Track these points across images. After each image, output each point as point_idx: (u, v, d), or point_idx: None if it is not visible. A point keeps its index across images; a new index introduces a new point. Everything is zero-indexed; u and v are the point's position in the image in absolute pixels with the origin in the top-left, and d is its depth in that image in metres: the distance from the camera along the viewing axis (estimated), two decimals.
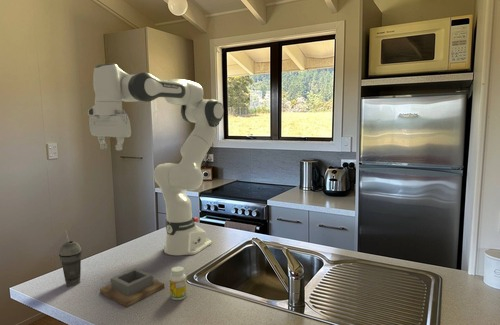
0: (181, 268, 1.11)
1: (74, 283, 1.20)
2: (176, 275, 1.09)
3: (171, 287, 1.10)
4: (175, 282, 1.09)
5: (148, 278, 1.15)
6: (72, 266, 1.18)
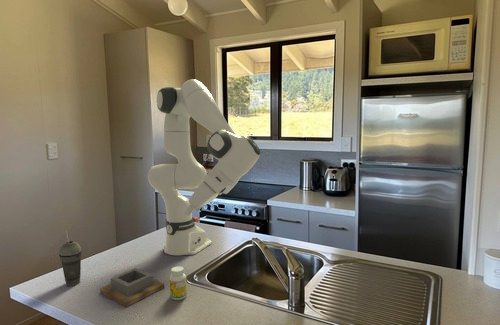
0: (181, 268, 1.11)
1: (74, 283, 1.20)
2: (176, 275, 1.09)
3: (171, 287, 1.10)
4: (175, 282, 1.09)
5: (148, 278, 1.15)
6: (72, 266, 1.18)
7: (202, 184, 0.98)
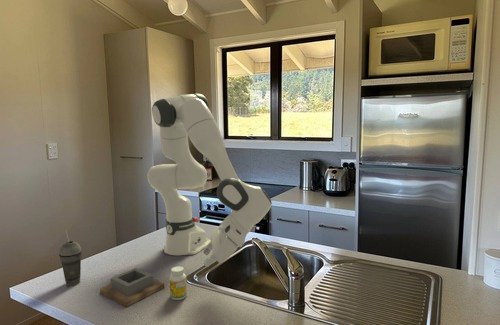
0: (181, 268, 1.11)
1: (74, 283, 1.20)
2: (176, 275, 1.09)
3: (171, 287, 1.10)
4: (175, 282, 1.09)
5: (148, 278, 1.15)
6: (72, 266, 1.18)
7: (226, 240, 1.03)
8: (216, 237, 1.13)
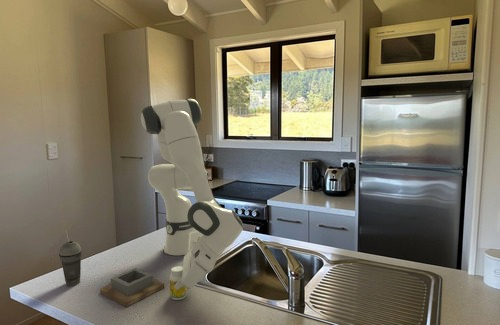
0: (181, 268, 1.11)
1: (74, 283, 1.20)
2: (176, 275, 1.09)
3: (171, 287, 1.10)
4: (175, 282, 1.09)
5: (148, 278, 1.15)
6: (72, 266, 1.18)
7: (195, 265, 1.02)
8: (187, 260, 1.13)
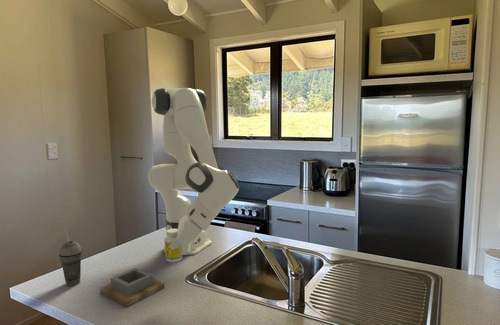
0: (176, 230, 1.10)
1: (74, 283, 1.20)
2: (171, 236, 1.08)
3: (166, 248, 1.08)
4: None
5: (148, 278, 1.15)
6: (72, 266, 1.18)
7: (190, 223, 1.01)
8: (183, 222, 1.12)
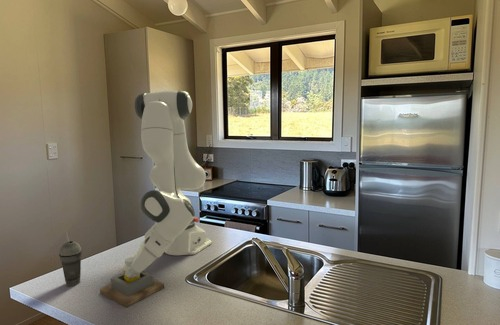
0: None
1: (74, 283, 1.20)
2: (129, 265, 1.13)
3: (124, 277, 1.14)
4: None
5: (148, 278, 1.15)
6: (72, 266, 1.18)
7: (143, 251, 1.06)
8: (141, 247, 1.17)
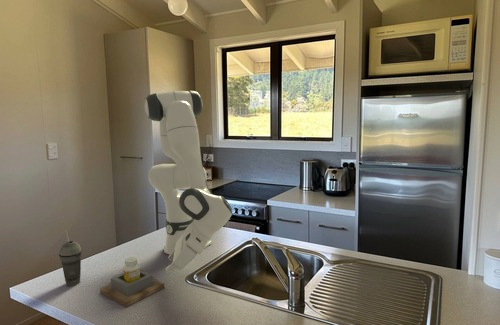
0: (135, 259, 1.15)
1: (74, 283, 1.20)
2: (129, 265, 1.13)
3: (124, 277, 1.14)
4: (128, 272, 1.13)
5: (148, 278, 1.15)
6: (72, 266, 1.18)
7: (185, 247, 1.08)
8: (179, 244, 1.19)
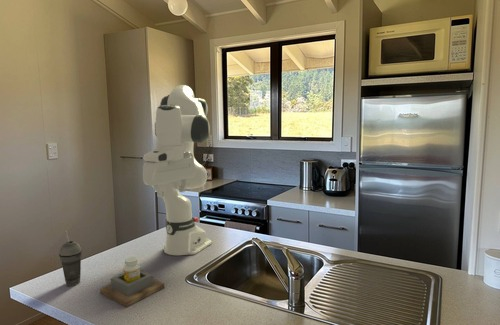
0: (135, 259, 1.15)
1: (74, 283, 1.20)
2: (129, 265, 1.13)
3: (124, 277, 1.14)
4: (128, 272, 1.13)
5: (148, 278, 1.15)
6: (72, 266, 1.18)
7: (144, 164, 1.07)
8: None
